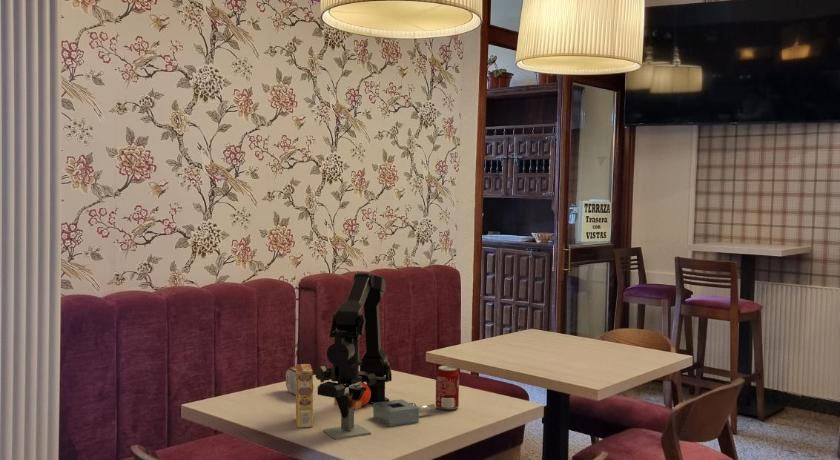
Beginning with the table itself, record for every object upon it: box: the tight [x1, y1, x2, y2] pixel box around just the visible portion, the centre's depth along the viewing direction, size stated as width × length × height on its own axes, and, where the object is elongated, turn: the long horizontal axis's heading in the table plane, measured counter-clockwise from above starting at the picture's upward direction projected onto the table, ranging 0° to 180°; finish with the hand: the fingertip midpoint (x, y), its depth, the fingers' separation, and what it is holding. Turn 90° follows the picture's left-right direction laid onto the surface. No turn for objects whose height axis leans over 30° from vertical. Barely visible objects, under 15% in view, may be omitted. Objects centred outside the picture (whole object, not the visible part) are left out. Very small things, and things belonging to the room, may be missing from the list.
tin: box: [284, 365, 296, 397], centre depth 246 cm, size 15×3×8 cm, turn 34°
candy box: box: [295, 363, 314, 428], centre depth 217 cm, size 9×4×15 cm, turn 13°
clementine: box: [360, 382, 371, 407], centre depth 236 cm, size 8×7×7 cm
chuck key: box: [333, 398, 362, 431], centre depth 209 cm, size 2×7×8 cm, turn 59°
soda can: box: [435, 365, 460, 411], centre depth 235 cm, size 7×7×12 cm
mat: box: [323, 423, 372, 440], centre depth 209 cm, size 8×10×1 cm
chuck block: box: [372, 399, 436, 427], centre depth 224 cm, size 10×17×4 cm, turn 119°
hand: (347, 416), depth 209 cm, fingers closed on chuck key, 2 cm apart
